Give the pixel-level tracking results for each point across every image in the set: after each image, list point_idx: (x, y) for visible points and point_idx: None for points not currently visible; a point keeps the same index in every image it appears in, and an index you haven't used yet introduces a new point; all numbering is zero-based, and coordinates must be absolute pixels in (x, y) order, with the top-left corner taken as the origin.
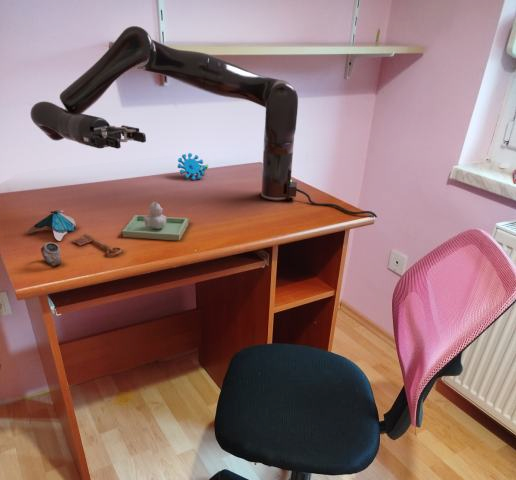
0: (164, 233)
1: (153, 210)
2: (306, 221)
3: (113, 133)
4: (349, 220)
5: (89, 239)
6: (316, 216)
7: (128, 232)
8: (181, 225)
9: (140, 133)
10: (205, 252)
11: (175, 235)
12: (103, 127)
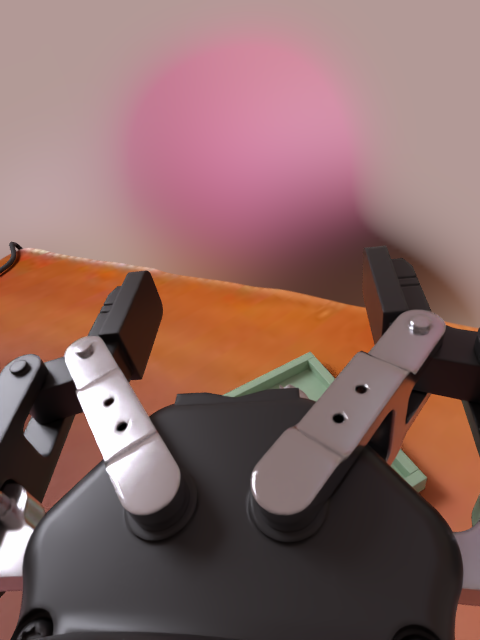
0: (331, 378)
1: (308, 398)
2: (72, 283)
3: (254, 395)
4: (44, 255)
5: None
6: (39, 286)
7: (410, 461)
8: (255, 385)
9: (140, 283)
10: (317, 299)
11: (316, 358)
12: (262, 493)
